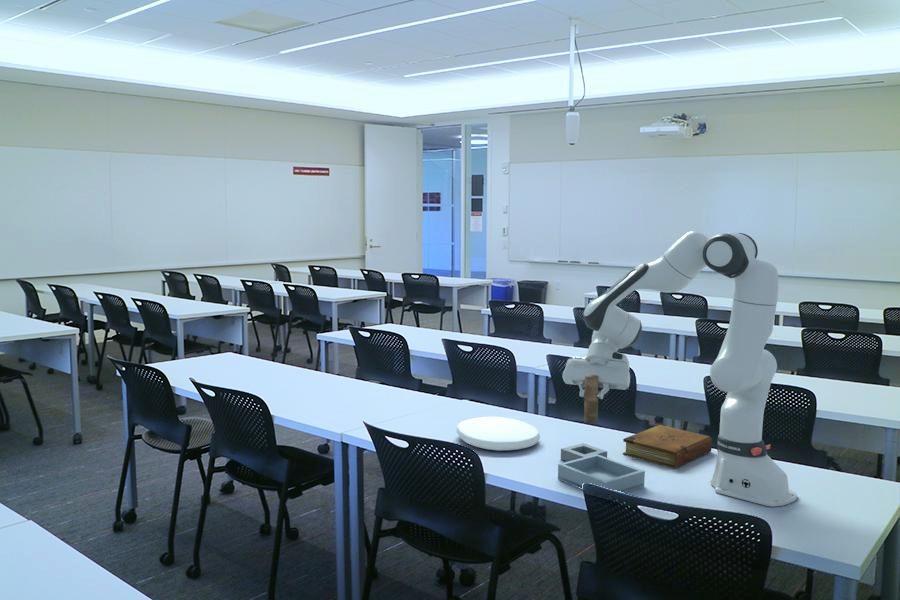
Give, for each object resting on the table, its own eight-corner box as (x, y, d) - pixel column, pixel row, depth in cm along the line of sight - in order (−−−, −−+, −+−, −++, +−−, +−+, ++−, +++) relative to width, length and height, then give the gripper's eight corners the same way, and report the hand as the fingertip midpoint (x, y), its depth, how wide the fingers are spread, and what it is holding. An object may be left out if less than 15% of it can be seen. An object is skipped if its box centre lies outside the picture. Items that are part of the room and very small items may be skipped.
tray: (644, 486, 206) (644, 471, 205) (605, 498, 197) (605, 482, 196) (596, 468, 220) (596, 454, 220) (557, 479, 211) (558, 464, 210)
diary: (676, 471, 221) (677, 452, 220) (622, 456, 234) (623, 438, 233) (711, 453, 237) (712, 436, 237) (658, 440, 250) (659, 424, 250)
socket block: (606, 462, 226) (607, 451, 226) (584, 468, 220) (584, 457, 220) (583, 453, 234) (583, 443, 234) (560, 459, 228) (560, 448, 228)
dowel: (600, 422, 220) (601, 376, 219) (591, 424, 218) (592, 378, 216) (590, 419, 223) (591, 374, 222) (581, 421, 221) (582, 375, 219)
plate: (555, 429, 244) (499, 446, 227) (553, 448, 246) (497, 465, 228) (496, 404, 265) (441, 417, 247) (495, 421, 266) (439, 436, 248)
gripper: (566, 350, 229) (555, 387, 222) (631, 356, 220) (622, 394, 212) (570, 362, 234) (559, 399, 226) (634, 368, 224) (626, 406, 217)
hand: (590, 397), depth 219 cm, fingers closed on dowel, 4 cm apart
